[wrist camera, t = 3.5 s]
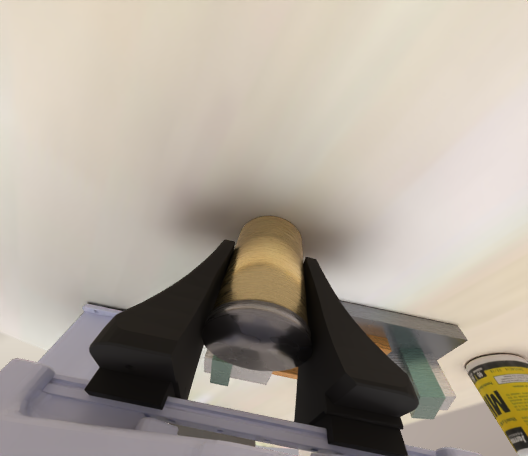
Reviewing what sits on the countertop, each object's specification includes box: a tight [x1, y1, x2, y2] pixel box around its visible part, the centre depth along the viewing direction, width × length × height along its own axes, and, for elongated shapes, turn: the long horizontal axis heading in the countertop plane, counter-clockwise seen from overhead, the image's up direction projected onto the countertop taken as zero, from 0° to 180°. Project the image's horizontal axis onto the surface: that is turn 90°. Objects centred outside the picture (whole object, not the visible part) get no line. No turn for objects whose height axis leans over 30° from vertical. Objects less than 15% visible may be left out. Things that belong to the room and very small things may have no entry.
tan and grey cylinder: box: [202, 216, 312, 371], centre depth 11 cm, size 5×5×7 cm
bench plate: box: [204, 301, 468, 419], centre depth 19 cm, size 20×13×5 cm, turn 80°
